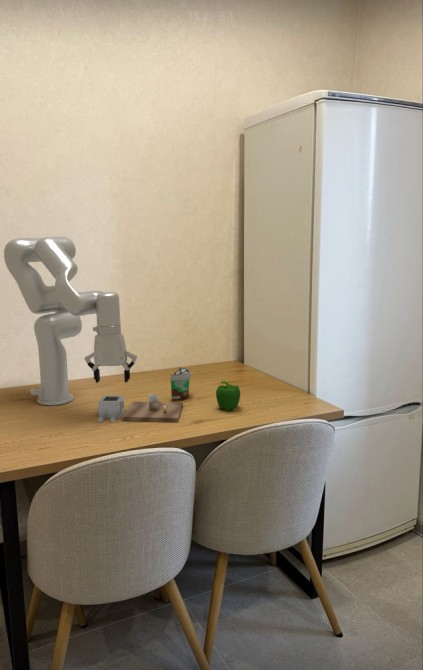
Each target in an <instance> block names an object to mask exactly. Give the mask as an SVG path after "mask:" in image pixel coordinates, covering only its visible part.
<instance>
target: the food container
mask: <svg viewBox="0 0 423 670" xmlns="http://www.w3.org/2000/svg"><path fill="white" fill-rule="evenodd" d="M191 378H192V373H191V370H190V369H189V368H187V367H180V366H178V370H177V371H175V372H174V373H173V374H170V378H169V379H170V389H171V395H170V396H171V402H180V401H184V400H187V399H188V398H189V397H190V396H189V395H190V394H189V393H190V381H191V380H190V379H191Z"/></svg>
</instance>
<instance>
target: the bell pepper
mask: <svg viewBox="0 0 423 670" xmlns="http://www.w3.org/2000/svg"><path fill="white" fill-rule="evenodd" d="M220 383H221V384H225V385H218V387H217V389H216V391H215V396H216V401H217V405H218V407H219V409H221V410H225V411H234V410H237V408H238V406H239V404H240V403H239V402H240V400H241V391H240V387H239V385H233V384H230V382H229V381H227V380H224V379H223V380H220Z"/></svg>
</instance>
